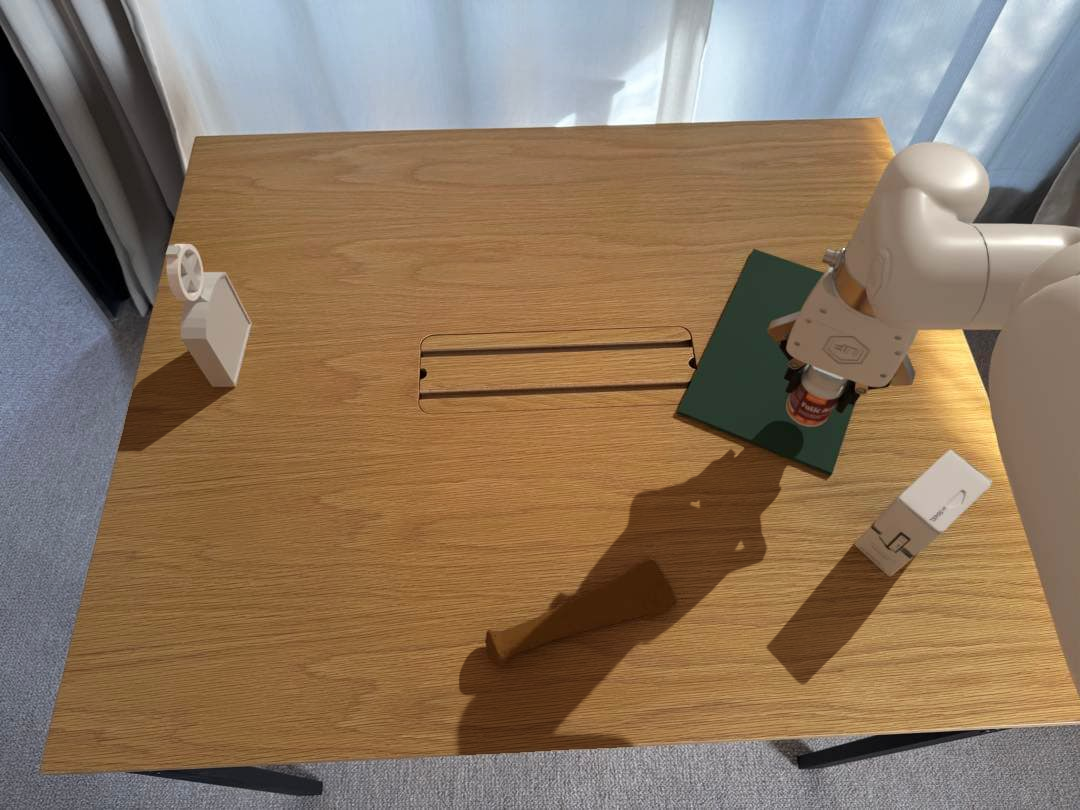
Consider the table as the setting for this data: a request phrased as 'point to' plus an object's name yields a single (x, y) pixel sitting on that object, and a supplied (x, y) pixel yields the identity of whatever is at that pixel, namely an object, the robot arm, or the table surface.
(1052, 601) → the robot arm
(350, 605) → the table surface
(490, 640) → the primitive tool
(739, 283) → the mat
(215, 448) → the table surface
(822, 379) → the pill bottle
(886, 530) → the ink box
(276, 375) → the table surface
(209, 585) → the table surface
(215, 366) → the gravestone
